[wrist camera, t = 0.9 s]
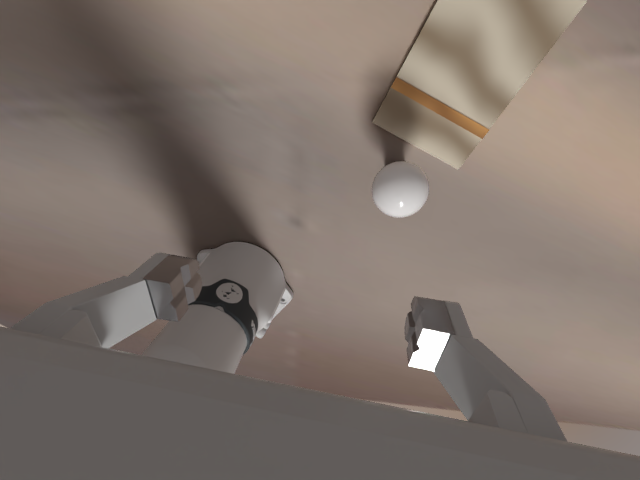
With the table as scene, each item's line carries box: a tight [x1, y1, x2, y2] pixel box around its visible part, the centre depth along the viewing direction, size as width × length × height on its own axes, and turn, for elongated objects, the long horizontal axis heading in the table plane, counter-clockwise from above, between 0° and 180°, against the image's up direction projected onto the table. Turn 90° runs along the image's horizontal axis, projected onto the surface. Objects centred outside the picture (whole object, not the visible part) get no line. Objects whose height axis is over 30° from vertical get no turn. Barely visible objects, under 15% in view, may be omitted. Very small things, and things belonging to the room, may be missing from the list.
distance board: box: [372, 0, 587, 170], centre depth 33 cm, size 19×13×1 cm
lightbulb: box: [372, 161, 429, 218], centre depth 35 cm, size 6×6×11 cm
